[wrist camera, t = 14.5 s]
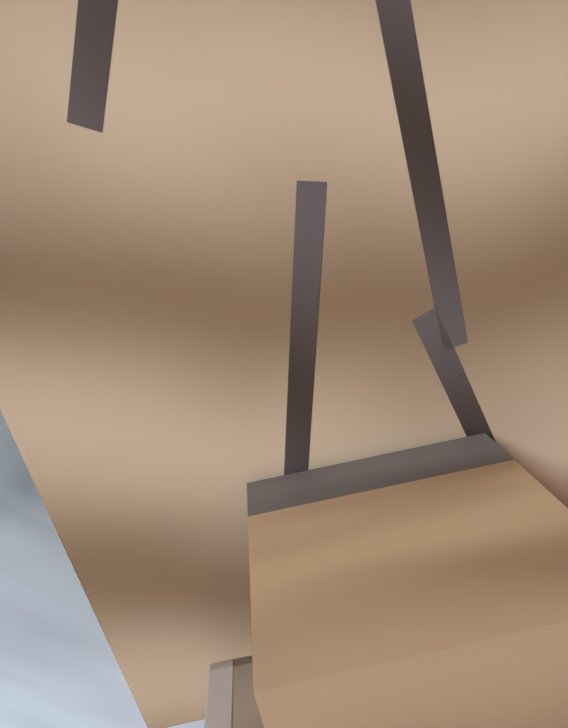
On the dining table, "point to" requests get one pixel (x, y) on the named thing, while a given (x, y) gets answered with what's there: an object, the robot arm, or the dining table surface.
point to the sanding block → (410, 593)
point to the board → (267, 275)
